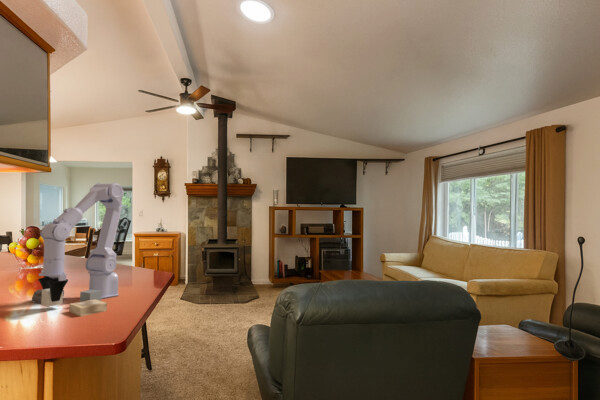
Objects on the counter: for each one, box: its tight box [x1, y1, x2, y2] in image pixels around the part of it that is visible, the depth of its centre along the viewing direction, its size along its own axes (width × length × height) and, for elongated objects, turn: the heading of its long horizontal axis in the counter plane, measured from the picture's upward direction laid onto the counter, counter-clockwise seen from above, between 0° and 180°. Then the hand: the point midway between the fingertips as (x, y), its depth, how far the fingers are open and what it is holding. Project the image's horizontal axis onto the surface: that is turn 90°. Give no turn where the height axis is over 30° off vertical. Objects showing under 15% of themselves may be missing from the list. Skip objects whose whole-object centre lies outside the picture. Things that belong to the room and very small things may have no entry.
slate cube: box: [79, 289, 102, 302], centre depth 122 cm, size 4×4×5 cm
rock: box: [31, 288, 65, 304], centre depth 127 cm, size 9×11×4 cm
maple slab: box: [68, 299, 108, 317], centre depth 114 cm, size 8×8×3 cm
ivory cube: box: [40, 288, 64, 308], centre depth 116 cm, size 4×4×5 cm
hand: (52, 299), depth 116 cm, fingers closed on ivory cube, 4 cm apart
